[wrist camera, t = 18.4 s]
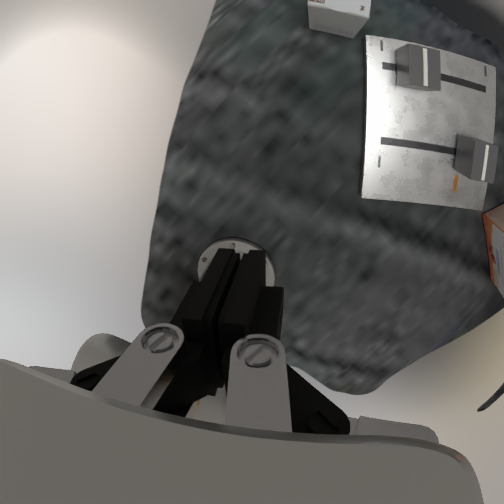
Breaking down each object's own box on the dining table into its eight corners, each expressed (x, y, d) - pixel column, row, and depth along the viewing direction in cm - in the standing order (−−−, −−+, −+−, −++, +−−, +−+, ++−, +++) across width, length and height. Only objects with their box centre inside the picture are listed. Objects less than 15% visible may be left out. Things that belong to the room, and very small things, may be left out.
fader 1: (425, 90, 30) (441, 90, 25) (396, 85, 30) (409, 84, 26) (424, 55, 28) (440, 50, 23) (396, 49, 28) (408, 43, 24)
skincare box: (357, 13, 28) (376, -17, 18) (353, 41, 31) (372, 19, 20) (310, 3, 29) (312, -32, 18) (306, 31, 31) (307, 4, 21)
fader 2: (475, 173, 33) (493, 184, 29) (453, 169, 34) (470, 179, 29) (480, 139, 31) (499, 146, 26) (457, 134, 31) (475, 140, 27)
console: (476, 205, 37) (482, 210, 36) (359, 193, 40) (361, 198, 39) (488, 67, 27) (495, 67, 25) (363, 37, 30) (366, 34, 28)
